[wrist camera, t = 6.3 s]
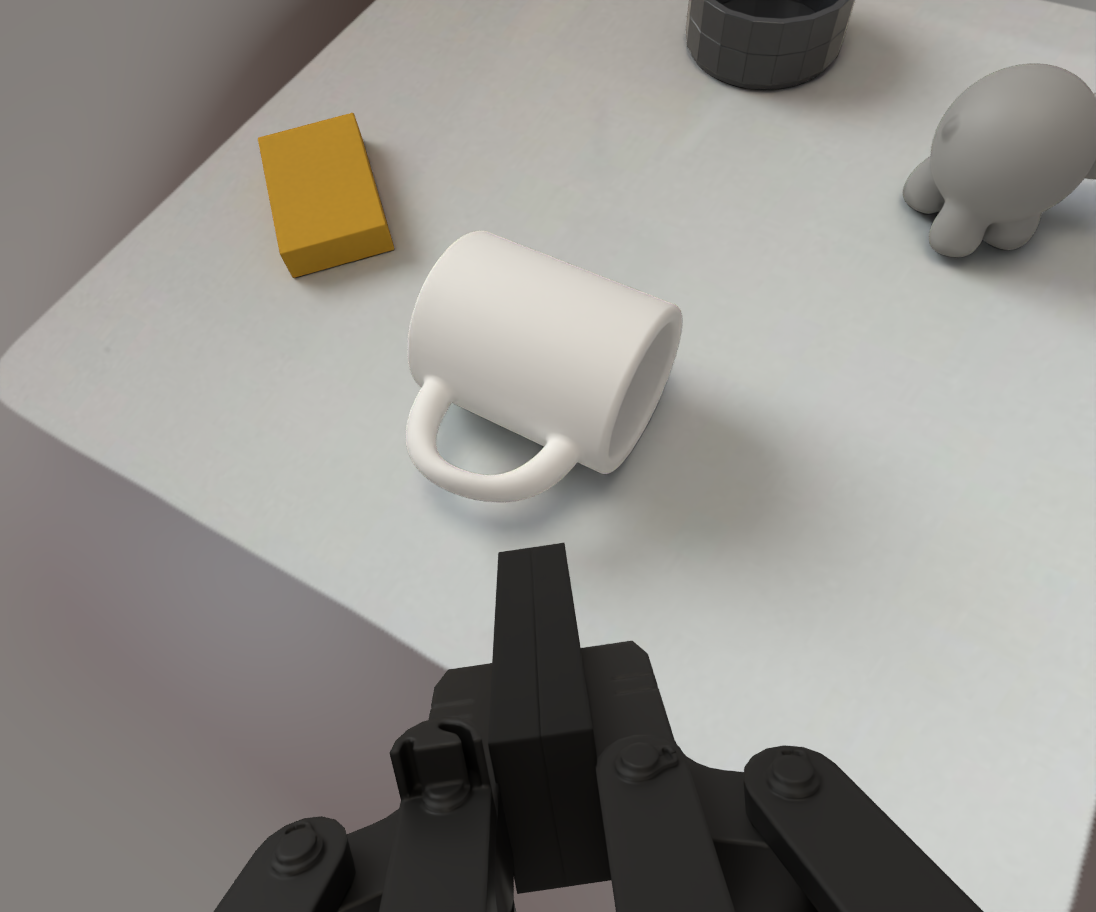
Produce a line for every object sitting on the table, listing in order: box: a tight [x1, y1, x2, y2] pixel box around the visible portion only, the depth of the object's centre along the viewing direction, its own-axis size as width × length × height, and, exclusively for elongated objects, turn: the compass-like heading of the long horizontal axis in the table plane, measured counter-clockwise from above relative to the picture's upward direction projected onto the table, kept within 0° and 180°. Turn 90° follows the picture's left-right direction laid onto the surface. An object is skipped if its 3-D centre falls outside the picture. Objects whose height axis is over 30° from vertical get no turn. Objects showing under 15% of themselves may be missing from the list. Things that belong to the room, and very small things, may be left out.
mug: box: [406, 231, 683, 502], centre depth 33 cm, size 12×10×8 cm
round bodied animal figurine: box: [903, 64, 1096, 257], centre depth 37 cm, size 7×12×8 cm, turn 95°
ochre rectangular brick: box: [258, 113, 394, 278], centre depth 44 cm, size 6×10×2 cm, turn 18°
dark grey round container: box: [686, 0, 855, 90], centre depth 48 cm, size 10×10×4 cm
